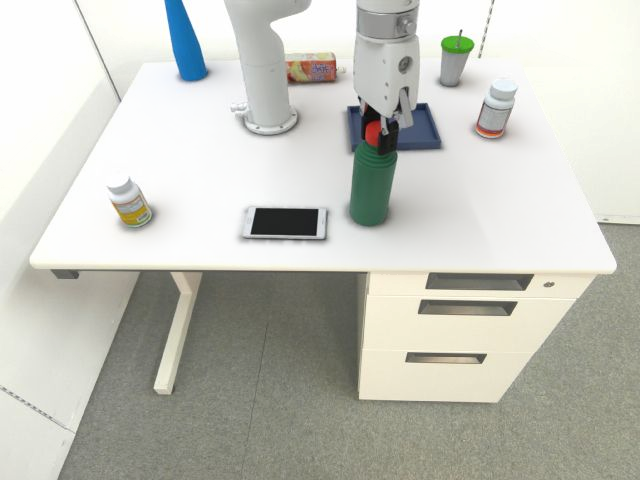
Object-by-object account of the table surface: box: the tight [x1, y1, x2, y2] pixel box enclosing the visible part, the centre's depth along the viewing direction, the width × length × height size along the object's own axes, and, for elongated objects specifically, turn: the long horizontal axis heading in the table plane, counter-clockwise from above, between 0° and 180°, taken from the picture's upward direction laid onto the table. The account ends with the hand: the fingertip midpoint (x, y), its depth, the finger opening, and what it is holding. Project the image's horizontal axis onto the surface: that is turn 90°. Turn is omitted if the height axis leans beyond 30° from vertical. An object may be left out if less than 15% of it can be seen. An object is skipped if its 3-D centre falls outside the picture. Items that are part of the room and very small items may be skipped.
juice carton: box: [285, 51, 337, 83], centre depth 106 cm, size 21×7×7 cm, turn 91°
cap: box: [365, 121, 382, 146], centre depth 61 cm, size 4×4×2 cm
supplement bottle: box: [105, 171, 153, 228], centre depth 73 cm, size 5×5×10 cm
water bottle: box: [349, 141, 399, 227], centre depth 69 cm, size 7×7×18 cm
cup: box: [439, 29, 476, 88], centre depth 100 cm, size 8×8×15 cm
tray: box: [346, 102, 442, 153], centre depth 92 cm, size 19×15×2 cm
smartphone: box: [241, 206, 327, 240], centre depth 74 cm, size 8×1×15 cm
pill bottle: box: [475, 78, 519, 139], centre depth 87 cm, size 6×6×11 cm
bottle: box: [163, 0, 208, 82], centre depth 101 cm, size 7×7×30 cm
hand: (378, 143), depth 63 cm, fingers closed on cap, 4 cm apart
